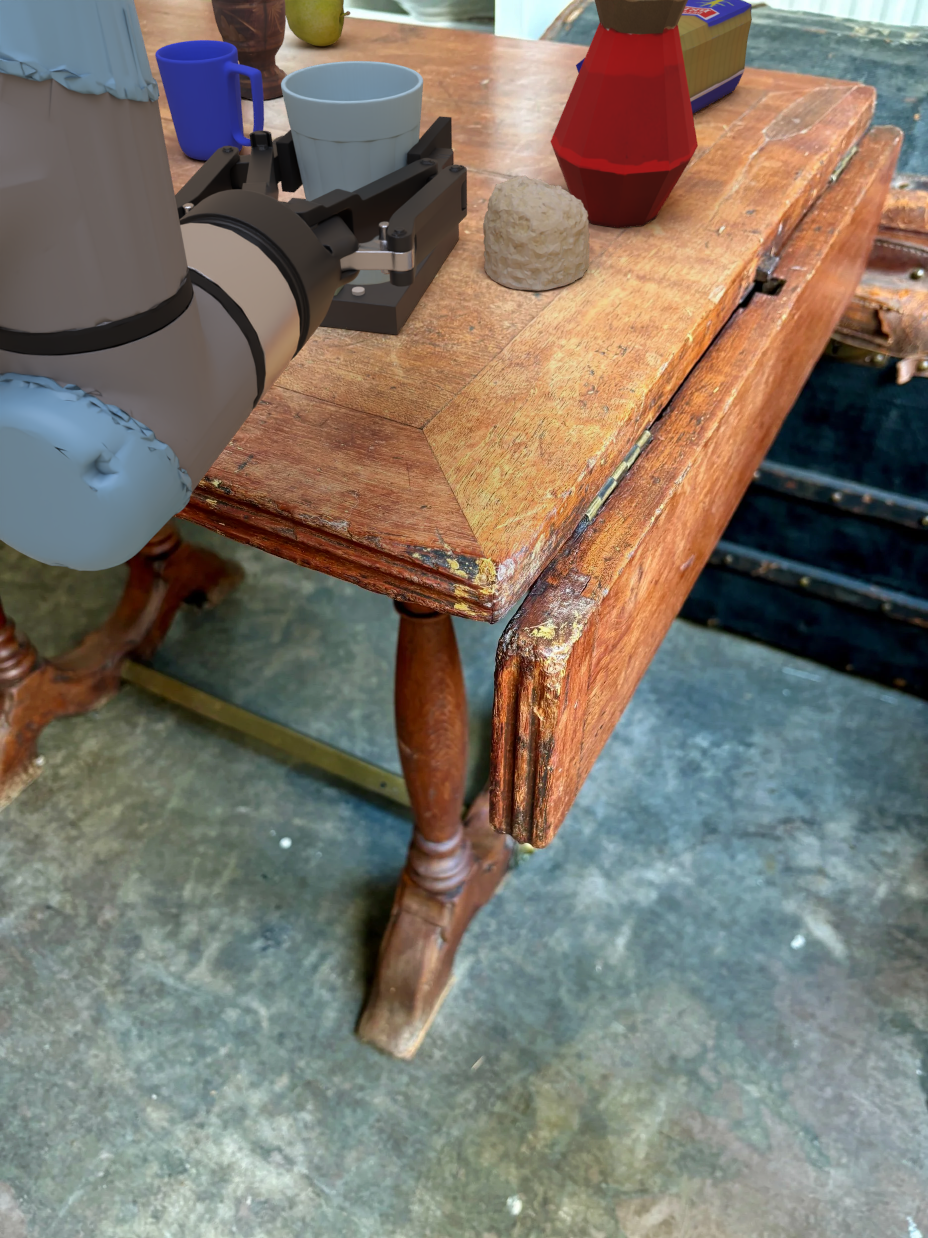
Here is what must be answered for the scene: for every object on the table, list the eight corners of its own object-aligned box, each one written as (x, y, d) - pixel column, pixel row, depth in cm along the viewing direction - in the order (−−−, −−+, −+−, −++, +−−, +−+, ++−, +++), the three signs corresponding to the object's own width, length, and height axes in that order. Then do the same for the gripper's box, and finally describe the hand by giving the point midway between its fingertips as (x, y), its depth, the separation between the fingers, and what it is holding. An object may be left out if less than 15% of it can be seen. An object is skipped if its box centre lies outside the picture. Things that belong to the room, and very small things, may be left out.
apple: (350, 52, 137) (345, -15, 132) (284, 52, 137) (276, -15, 132) (356, 38, 143) (351, -28, 137) (293, 38, 143) (286, -27, 138)
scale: (208, 313, 80) (201, 278, 78) (295, 222, 94) (291, 191, 92) (397, 335, 77) (395, 299, 75) (459, 238, 91) (458, 206, 89)
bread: (749, 91, 123) (766, -6, 116) (649, 146, 109) (661, 39, 101) (676, 77, 127) (688, -17, 120) (571, 128, 113) (577, 25, 106)
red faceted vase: (551, 176, 102) (563, -57, 88) (684, 181, 101) (717, -55, 87) (542, 238, 91) (555, -18, 77) (692, 244, 90) (732, -15, 76)
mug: (244, 178, 103) (228, 70, 96) (159, 157, 107) (137, 53, 100) (294, 154, 108) (282, 50, 101) (210, 135, 112) (193, 35, 105)
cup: (275, 269, 61) (250, 81, 53) (362, 230, 65) (350, 52, 58) (366, 306, 57) (352, 110, 50) (452, 262, 61) (450, 76, 54)
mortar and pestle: (297, 108, 119) (274, -95, 106) (224, 112, 118) (191, -92, 105) (294, 80, 128) (272, -111, 114) (226, 84, 127) (195, -109, 113)
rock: (534, 287, 92) (477, 188, 88) (623, 241, 87) (566, 133, 83) (500, 331, 86) (436, 226, 82) (593, 284, 80) (529, 169, 76)
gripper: (51, 353, 49) (242, 184, 65) (442, 405, 45) (542, 213, 61) (1, 197, 44) (222, 56, 60) (438, 241, 40) (549, 78, 56)
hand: (384, 135), depth 60 cm, fingers closed on cup, 7 cm apart
